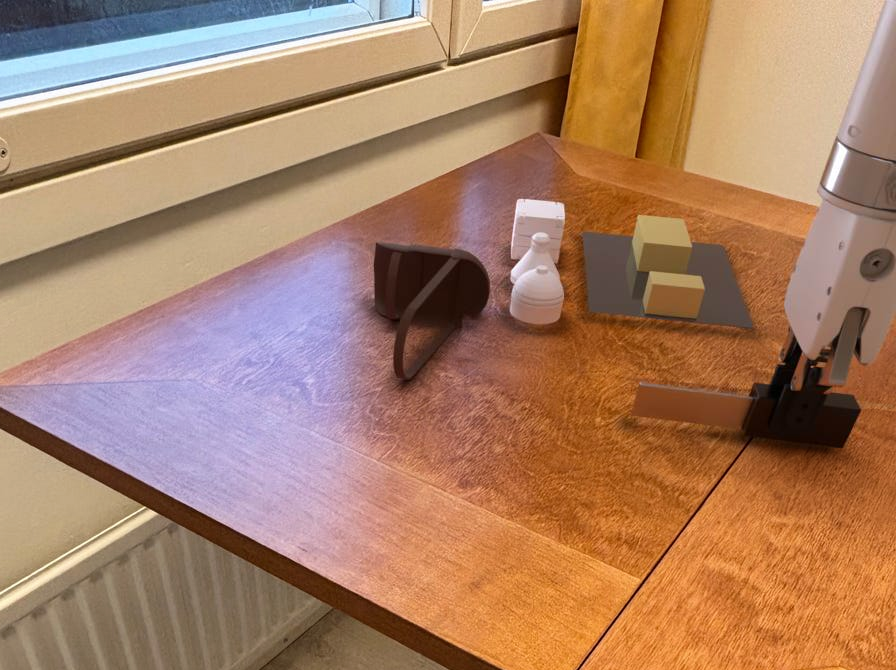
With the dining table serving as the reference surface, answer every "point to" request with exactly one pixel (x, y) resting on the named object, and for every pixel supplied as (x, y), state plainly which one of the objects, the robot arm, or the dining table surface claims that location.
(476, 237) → the dining table surface
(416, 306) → the brown basket
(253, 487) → the dining table surface
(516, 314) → the container set
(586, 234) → the slate board
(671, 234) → the butter block
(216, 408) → the dining table surface
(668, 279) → the butter pat
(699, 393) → the knife
